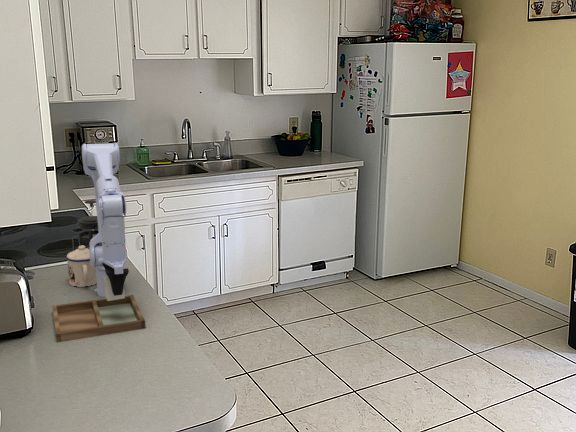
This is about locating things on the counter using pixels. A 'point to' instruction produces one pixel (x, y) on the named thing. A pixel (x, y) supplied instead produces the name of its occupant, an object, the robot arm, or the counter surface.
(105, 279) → the stone block
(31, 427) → the counter surface
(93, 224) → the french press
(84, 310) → the sorting tray
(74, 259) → the teacup with lid
